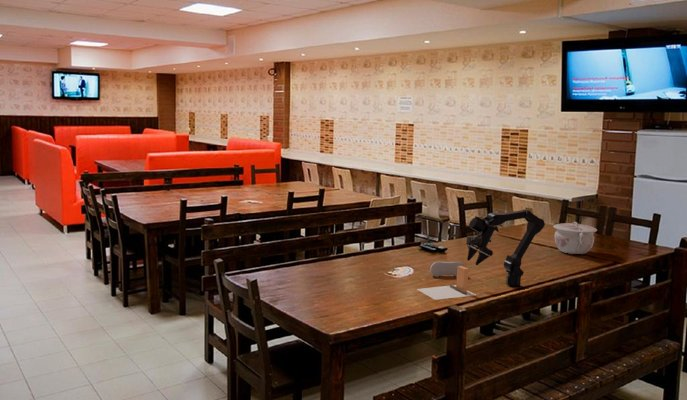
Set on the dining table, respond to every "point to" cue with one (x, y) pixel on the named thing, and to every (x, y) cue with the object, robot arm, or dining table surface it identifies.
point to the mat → (443, 292)
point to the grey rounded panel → (445, 268)
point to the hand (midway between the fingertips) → (472, 262)
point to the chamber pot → (574, 237)
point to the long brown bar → (458, 290)
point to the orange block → (462, 278)
